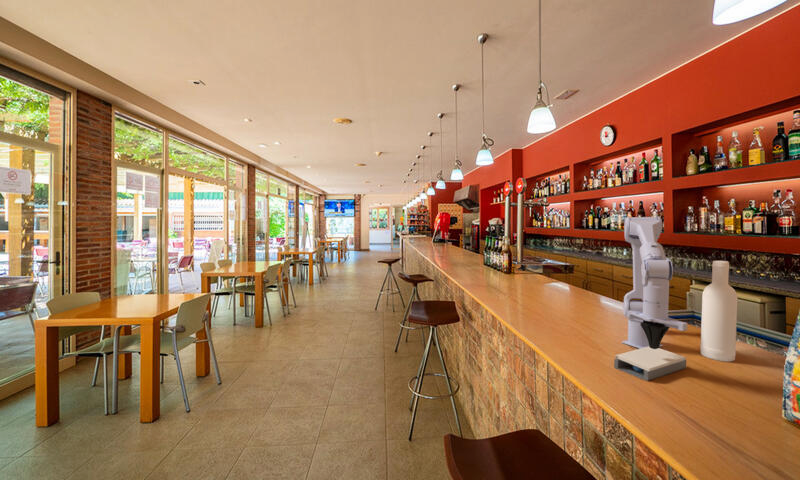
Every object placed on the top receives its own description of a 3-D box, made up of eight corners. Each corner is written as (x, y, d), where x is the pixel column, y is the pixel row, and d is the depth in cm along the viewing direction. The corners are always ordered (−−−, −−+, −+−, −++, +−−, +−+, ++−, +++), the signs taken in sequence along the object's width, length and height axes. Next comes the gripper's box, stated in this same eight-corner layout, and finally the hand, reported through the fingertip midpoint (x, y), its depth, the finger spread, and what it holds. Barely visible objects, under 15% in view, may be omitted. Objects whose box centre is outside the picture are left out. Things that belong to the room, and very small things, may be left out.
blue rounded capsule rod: (658, 361, 99) (658, 355, 99) (666, 364, 97) (666, 357, 97) (631, 370, 94) (631, 363, 94) (638, 373, 92) (638, 366, 92)
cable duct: (651, 356, 103) (652, 348, 103) (686, 368, 95) (686, 359, 95) (614, 367, 96) (614, 359, 96) (647, 381, 88) (647, 371, 88)
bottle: (734, 356, 103) (738, 260, 101) (736, 364, 97) (740, 263, 95) (700, 349, 108) (703, 259, 107) (699, 357, 103) (702, 261, 101)
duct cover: (650, 347, 103) (651, 345, 103) (685, 359, 95) (685, 357, 95) (615, 357, 96) (615, 355, 96) (649, 371, 88) (649, 368, 88)
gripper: (620, 297, 99) (619, 341, 100) (677, 309, 85) (675, 360, 86) (635, 295, 101) (634, 338, 102) (692, 305, 88) (690, 355, 89)
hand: (654, 347), depth 94 cm, fingers closed
